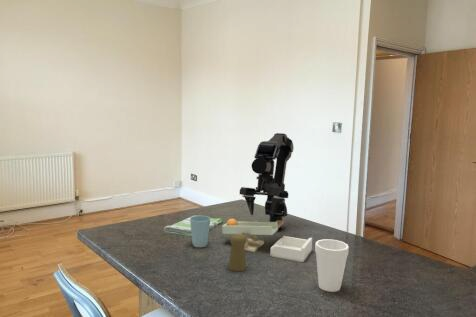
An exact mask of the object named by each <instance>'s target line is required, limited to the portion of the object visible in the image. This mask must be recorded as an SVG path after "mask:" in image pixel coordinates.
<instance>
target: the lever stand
mask: <svg viewBox="0 0 476 317" xmlns="http://www.w3.org/2000/svg"><path fill="white" fill-rule="evenodd" d="M242 235H244V236H245V237H246V243H245V245H244V248H245V251H248V252H253V253H255V252H257V250H258V249H260V248H261V247H262V246H263V245H264V244H265V241H264V240H261V239H258V235H252V234H250V235H251V237H250V238H249V234H248V233H247V232H242Z"/></svg>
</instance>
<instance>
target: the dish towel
mask: <svg viewBox="0 0 476 317" xmlns="http://www.w3.org/2000/svg"><path fill="white" fill-rule="evenodd" d="M193 216H200V215H197V214H196V215H194V214H193V215H192V216H190V217H188V218H185V219H183V220H181V221H178V222H175V223H173V224H170V225H166V226H165V227H164V228H163V231H164V232H165V233H171V234H177V235H181V236H186V237H192V233H191V223H190V218H191V217H193ZM210 218H211V219H210V227H209V231H211V230H212V229H215V228H216V227H218V226H220V225H222V224H224V221H223V219H222V218H219V217H217V218H215V217H214V218H212V217H210Z"/></svg>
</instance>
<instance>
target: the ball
mask: <svg viewBox="0 0 476 317" xmlns="http://www.w3.org/2000/svg"><path fill="white" fill-rule="evenodd" d="M237 222H238V221H237V220H236V219H235V218H229V219H228V220H227V222H226V223H227V226H237Z"/></svg>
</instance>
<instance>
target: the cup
mask: <svg viewBox="0 0 476 317" xmlns="http://www.w3.org/2000/svg"><path fill="white" fill-rule="evenodd" d="M192 216H193V217H192ZM192 216H190V217H191V218H190V223H191V233H192V236H191V241H192V246H193V247H195V248H204V247H207V246H208V243H209V242H208V241H209V234H210V230H209V227H210V219H211V218H212V217H210V216H207V215H199V216H194V215H192Z"/></svg>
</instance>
